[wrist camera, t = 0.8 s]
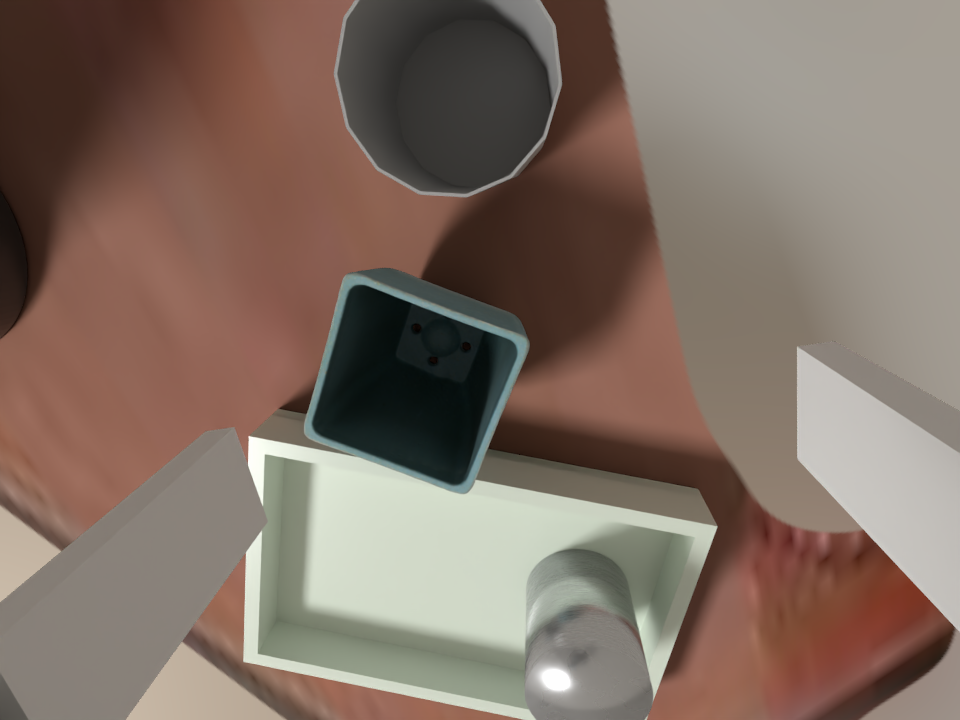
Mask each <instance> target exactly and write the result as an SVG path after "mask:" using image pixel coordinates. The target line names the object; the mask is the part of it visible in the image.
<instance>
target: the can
mask: <svg viewBox="0 0 960 720" xmlns="http://www.w3.org/2000/svg"><path fill="white" fill-rule="evenodd" d="M525 700H526V703H527V706H528V708H529V710H530V712H531V714H532V715H533V716H534V718H535V719H536V720H645V718H646V717H647V716H648V714H649V712H650V710H651V707H652V703H653V689H652V684H651V680H650V676H649V671H648V667H647V663H646V658H645V654H644V650H643V645H642V641H641V637H640V632H639V628H638V624H637V620H636V615H635V611H634V607H633V602H632V598H631V594H630V589H629V585H628V581H627V578H626V576H625V574H624V573H623V571H622V569H621V568H620V567H619V566H618V565H617V564H616V563H615V562H614V561H612V560H611V559H609V558H608V557H606V556H604V555H602V554H600V553H597V552H594V551H590V550H584V549H568V550H563V551H559V552H556V553H553V554H551V555H549V556H547V557H545V558H544V559H542V560H541V561H540V562H539V563H538V564H537V565H536V566H535V567H534V568H533V570H532V571H531V573H530V575H529V577H528V580H527V585H526V630H525Z"/></svg>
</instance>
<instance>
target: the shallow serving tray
mask: <svg viewBox="0 0 960 720" xmlns="http://www.w3.org/2000/svg"><path fill="white" fill-rule="evenodd" d="M306 415H307V414H303V413H297V412H292V411H287V410H282V409H278V410H276V411H275V412H274V413H273V414H272V415H271V416H270V417H269V418H268V419H267V420H266V421H265V422H264V423H263V424H261V425H260V426H259V427H258V428H257V429H256V430H255V431H254V432H253V433H252V434H251V435H250V436H249V455H248V467H249V470H250V472H251V475H252V478H253V481H254V484H255V486H256V489H257V492H258V495H259V497H260V500H261V503H262V506H263V509H264V511H265V514H266V517H267V520H268V522H267V524H266V525H265V527H264V528H263V529H262V531H261V532H260V533H259V535H258V536H257V538H256V539H255V540H254V542H253V543H252V545H251V546H250V547H249V549H248V550H247V552H246V579H245V620H244V661H243V662H248V663H252V664H257V665H262V666H267V667H272V668H277V669H282V670H286V671H291V672H296V673H301V674H306V675H311V676H316V677H320V678H325V679H330V680H335V681H340V682H345V683H349V684H354V685H359V686H364V687H369V688H374V689H379V690H383V691H388V692H393V693H398V694H403V695H408V696H413V697H417V698H422V699H427V700H432V701H437V702H442V703H447V704H451V705H456V706H461V707H466V708H471V709H476V710H480V711H485V712H490V713H495V714H500V715H505V716H510V717H514V718H519V719H524V720H536V719H535V718H534V716H533V715H532V714H531V712H530V710H529V708H528V706H527V703H526V700H525V630H526V585H527V580H528V577H529V575H530V573H531V571H532V570H533V568H534V567H535V566H536V565H537V564H538V563H539V562H540V561H541V560H542V559H544V558H545V557H547V556H549V555H551V554H553V553H556V552H559V551H563V550H568V549H584V550H590V551H594V552H597V553H600V554H602V555H604V556H606V557H608V558H609V559H611V560H612V561H614V562H615V563H616V564H617V565H618V566H619V567H620V568H621V569H622V571H623V573H624V574H625V576H626V578H627V581H628V585H629V589H630V594H631V598H632V602H633V607H634V611H635V615H636V620H637V624H638V628H639V632H640V637H641V641H642V645H643V650H644V654H645V658H646V663H647V667H648V671H649V676H650V680H651V684H652V689H653V700H654V698H655V695H656V692H657V689H658V687H659V684H660V681H661V679H662V676H663V673H664V670H665V668H666V665H667V662H668V660H669V657H670V654H671V652H672V649H673V646H674V643H675V641H676V638H677V635H678V633H679V630H680V627H681V624H682V622H683V619H684V616H685V614H686V611H687V608H688V606H689V603H690V600H691V597H692V595H693V592H694V589H695V587H696V584H697V581H698V578H699V576H700V573H701V570H702V568H703V565H704V562H705V559H706V557H707V554H708V551H709V549H710V546H711V543H712V541H713V538H714V535H715V532H716V530H717V527H718V526H717V524H716V522H715V520H714V518H713V516H712V515H711V513H710V511H709V509H708V507H707V505H706V503H705V501H704V499H703V497H702V495H701V493H700V491H699V490H698V489H696V488H691V487H685V486H680V485H675V484H670V483H665V482H659V481H654V480H649V479H644V478H638V477H633V476H628V475H623V474H617V473H612V472H607V471H602V470H596V469H591V468H586V467H581V466H575V465H570V464H565V463H560V462H554V461H549V460H544V459H539V458H533V457H528V456H523V455H518V454H512V453H507V452H502V451H497V450H491V449H488V450H487V452H486V454H485V457H484V460H483V462H482V464H481V467H480V470H479V473H478V475H477V478H476V480H475V483H474V485H473V487H472V489H471V490H470V491H469V492H468V493H467V494H458V493H454V492H451V491H448V490H445V489H442V488H440V487H437V486H435V485H432V484H429V483H427V482H424V481H421V480H418V479H415V478H413V477H411V476H408V475H406V474H403V473H400V472H397V471H394V470H392V469H389V468H386V467H384V466H381V465H379V464H376V463H373V462H370V461H367V460H364V459H362V458H359V457H356V456H354V455H351V454H349V453H345V452H342V451H340V450H337V449H334V448H331V447H329V446H326V445H323V444H320V443H318V442H315V441H313V440H311V439H309V438H307V437H306V435H305V434H304V422H305V418H306ZM646 719H647V717H646V718H645V720H646Z"/></svg>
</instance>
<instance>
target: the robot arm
mask: <svg viewBox="0 0 960 720" xmlns="http://www.w3.org/2000/svg"><path fill="white" fill-rule="evenodd" d="M26 288H27V261H26V255H25V249H24V245H23V241H22V237H21V234H20V231H19V228H18V225H17V223H16V221H15V218H14V216H13V214H12V212H11V210H10V208H9V206H8V204H7V202H6V200H5V198H4V197H3V195H2V194H1V192H0V338H1V337H2V336H3V335H4V334H5V333H6V332H7V331H8V330H9V329H10V328H11V326H12V325H13V324H14V322H15V321H16V319H17V317H18V315H19V313H20V311H21V308H22V305H23V302H24V299H25V294H26ZM797 459H798V460H799V461H800V462H801V463H802V464H803V465H804V466H805V468H806V469H807V470H808V471H809V472H810V473H811V474H812V475H813V476H814V477H815V478H816V479H817V480H818V481H819V482H820V483H821V485H823V487H824V488H825V489H826V490H827V491H828V492H829V493H830V494H831V495H832V496H833V497H834V498H835V499H836V500H837V502H838V503H839V504H840V505H841V506H842V507H843V508H844V509H845V510H846V511H847V512H848V513H849V514H850V515H851V517H852V518H853V519H854V520H855V521H856V522H857V523H858V524H859V525H860V526H861V527H862V528H863V529H864V530H865V531H866V533H867V534H868V535H869V536H870V537H871V538H872V539H873V540H874V541H875V542H876V543H877V544H878V545H879V546H880V547H881V549H882V550H883V551H884V552H885V553H886V554H887V555H888V556H889V557H890V558H891V559H892V560H893V561H894V562H895V563H896V565H897V566H898V567H899V568H900V569H901V570H902V571H903V572H904V573H905V574H906V575H907V576H908V577H909V578H910V579H911V580H912V582H913V583H914V584H915V585H916V586H917V587H918V588H919V589H920V590H921V591H922V592H923V593H924V594H925V595H926V596H927V598H928V599H929V600H930V601H931V602H932V603H933V604H934V605H935V606H936V607H937V608H938V609H939V610H940V611H941V612H942V614H943V615H944V616H945V617H946V618H947V619H948V620H949V621H950V622H951V623H952V624H953V625H954V626H955V627H956V628H957V630H958V631H959V632H960V411H959V410H957V409H955V408H954V407H952V406H950V405H948V404H946V403H945V402H943V401H941V400H939V399H937V398H936V397H934V396H932V395H930V394H929V393H926V392H925V391H923V390H921V389H920V388H917V387H916V386H914V385H912V384H911V383H909V382H907V381H905V380H904V379H902V378H900V377H898V376H896V375H894V374H893V373H891V372H889V371H887V370H886V369H884V368H882V367H880V366H878V365H877V364H875V363H873V362H871V361H869V360H868V359H866V358H864V357H862V356H861V355H859V354H857V353H855V352H853V351H852V350H850V349H848V348H846V347H844V346H842V345H841V344H839V343H837V342H836V341H833V342H826V343H819V344H812V345H805V346H799V347H797ZM267 522H268V520H267V517H266V514H265V511H264V509H263V506H262V503H261V500H260V497H259V495H258V492H257V489H256V486H255V484H254V481H253V478H252V475H251V472H250V470H249V467H248V464H247V461H246V458H245V456H244V453H243V450H242V447H241V445H240V442H239V439H238V436H237V433H236V431H235V428H234V427H233V428H226V429H219V430H212V431H206V432H204V433H203V434H202V435H201V436H200V437H198V438H197V439H196V440H195V441H194V442H192V443H191V444H190V445H189V446H188V447H186V448H185V449H184V450H183V451H182V452H180V453H179V454H178V455H177V456H176V457H174V458H173V459H172V460H171V461H170V462H168V463H167V464H166V465H165V466H164V467H162V468H161V469H160V470H159V471H158V472H156V473H155V474H154V475H153V476H152V477H150V478H149V479H148V480H147V481H146V482H144V483H143V484H142V485H141V486H140V487H138V488H137V489H136V490H135V491H134V492H132V493H131V494H130V495H129V496H127V497H126V498H125V499H124V500H123V501H121V502H120V503H119V504H118V505H117V506H115V507H114V508H113V509H112V510H111V511H109V512H108V513H107V514H106V515H105V516H103V517H102V518H101V519H100V520H99V521H97V522H96V523H95V524H94V525H93V526H91V527H90V528H89V529H88V530H87V531H85V532H84V533H83V534H82V535H81V536H79V537H78V538H77V539H76V540H75V541H73V542H72V543H71V544H70V545H69V546H67V547H66V548H65V549H64V550H63V551H61V552H60V553H59V554H58V555H57V556H55V557H54V558H53V559H52V560H51V561H49V562H48V563H47V564H46V565H45V566H43V567H42V568H41V569H40V570H39V571H37V572H36V573H35V574H34V575H33V576H31V577H30V578H29V579H28V580H27V581H26V582H24V583H23V584H22V585H21V586H19V587H18V588H17V589H16V590H15V591H13V592H12V593H11V594H10V595H9V596H8V597H7V598H5V599H4V600H3V601H1V602H0V720H126V718H127V717H128V715H129V714H130V713H131V711H132V710H133V708H134V707H135V706H136V704H137V703H138V702H139V700H140V699H141V697H142V696H143V695H144V693H145V692H146V690H147V689H148V688H149V686H150V685H151V684H152V682H153V681H154V679H155V678H156V677H157V675H158V674H159V672H160V671H161V669H162V668H163V667H164V665H165V664H166V663H167V661H168V660H169V659H170V657H171V655H172V654H173V653H174V651H175V650H176V649H177V647H178V646H179V645H180V643H181V642H182V640H183V639H184V638H185V636H186V635H187V634H188V632H189V631H190V629H191V628H192V627H193V625H194V624H195V622H196V621H197V620H198V618H199V617H200V615H201V614H202V613H203V611H204V610H205V609H206V607H207V606H208V604H209V603H210V602H211V600H212V599H213V597H214V596H215V595H216V593H217V592H218V590H219V589H220V588H221V586H222V585H223V584H224V582H225V581H226V579H227V578H228V577H229V575H230V574H231V572H232V571H233V570H234V568H235V567H236V565H237V564H238V563H239V561H240V560H241V559H242V557H243V556H244V554H245V553H246V552H247V550H248V549H249V547H250V546H251V545H252V543H253V542H254V540H255V539H256V538H257V536H258V535H259V533H260V532H261V531H262V529H263V528H264V527H265V525H266V524H267Z"/></svg>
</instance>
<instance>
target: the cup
mask: <svg viewBox="0 0 960 720" xmlns="http://www.w3.org/2000/svg"><path fill="white" fill-rule="evenodd" d="M334 77H335V81H336V85H337V90H338V94H339V98H340V103H341V107H342V112H343V116H344V120H345V125H346V128H347V130H348V131H349V132H350V134H351V135H352V136H353V138H354V139H355V141H356V142H357V143H358V145H359V146H360V148H361V149H362V150H363V152H364V153H365V155H366V156H367V157H368V159H369V160H370V161H371V163H372V164H373V166H374V167H375V168H376V170H377V171H379V172H381V173H383V174H384V175H386V176H388V177H390V178H391V179H393V180H395V181H397V182H398V183H400V184H402V185H404V186H405V187H407V188H409V189H411V190H412V191H414V192H416V193H418V194H419V195H436V196H453V197H469V196H472V195H474V194H477V193H479V192H482V191H484V190H487V189H489V188H491V187H494V186H496V185H498V184H501V183H503V182H505V181H507V180H510V179H512V178H514V177H517V176H519V174H520V173H521V172H522V171H523V170H524V169H525V167H526V166H527V165H528V164H529V163H530V162H531V160H532V159H533V158H534V157H535V156H536V155H537V154H538V152H539V151H540V150H541V149H542V147H543V144H544V142H545V139H546V136H547V133H548V130H549V127H550V123H551V120H552V117H553V113H554V110H555V107H556V103H557V100H558V97H559V93H560V90H561V87H562V77H561V68H560V60H559V51H558V42H557V33H556V25H555V24H554V22H553V20H552V19H551V17H550V15H549V14H548V12H547V10H546V9H545V7H544V5H543V4H542V2H541V0H355V1H354V3H353V4H352V6H351V7H350V9H349V10H348V12H347V13H346V15H345V16H344V18H343V23H342V29H341V35H340V41H339V47H338V53H337V58H336V64H335V70H334Z"/></svg>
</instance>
